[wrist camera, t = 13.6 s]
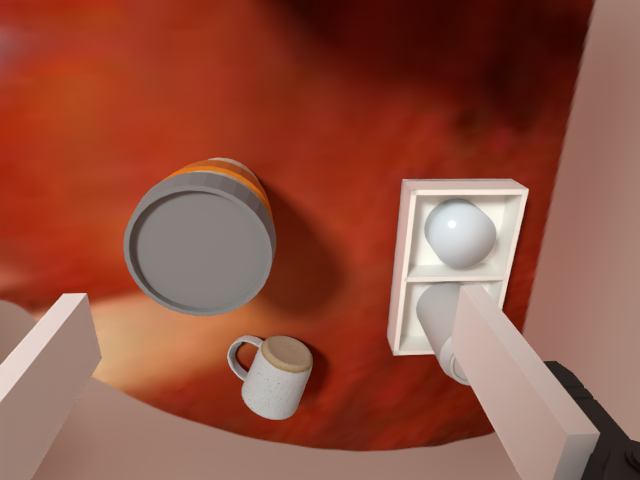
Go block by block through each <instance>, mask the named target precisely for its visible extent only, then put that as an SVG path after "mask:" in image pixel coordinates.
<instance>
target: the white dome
mask: <svg viewBox="0 0 640 480" xmlns="http://www.w3.org/2000/svg"><path fill="white" fill-rule="evenodd" d="M424 234H425V238H426V240H427V242H428V243H429V245H430V246H431V248H432V249H433V250H434V252H435V253H436V255H437V256H438V257H439V259H440V260H441V261H442V262H443V263H445V264H446V265H449V266H451V267H456V268H465V267H469V266H472V265H475V264H477V263H479V262H480V261H482V260H483V259H484V258H485V257H486V256H487V255H488V254H489V253H490V252H491V250H492V248H493V246H494V244H495V241H496V228H495V225H494V223H493V221H492V220H491V219H490V218H489V217H488V216H487V215H486V214H485V213H484V212H482V211H481V210H480V209H479V208H478V207H477V206H476V205H474V204H473V203H472V202H470V201H468V200H465V199H458V198H457V199H449V200H446V201H444V202H442V203H440V204H438V205H437V206H436V207H435V208H434V209H433V210H432V211H431V212H430V213H429V215H428V217H427V219H426V221H425V225H424Z"/></svg>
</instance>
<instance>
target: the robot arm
mask: <svg viewBox="0 0 640 480" xmlns="http://www.w3.org/2000/svg"><path fill="white" fill-rule="evenodd" d="M450 348H451V350H452V351H453V353H454V355H455V357H456V359H457V361H458V363H459V364H460V366H461V368H462V370H463V372H464V374H465V376H466V377H467V379H468V381H469V383H470V385H471V387H472V389H473V390H474V392H475V394H476V396H477V398H478V400H479V402H480V403H481V405H482V407H483V409H484V411H485V413H486V415H487V416H488V418H489V420H490V422H491V424H492V426H493V428H494V429H495V431H496V433H497V435H498V437H499V439H500V440H501V442H502V444H503V446H504V448H505V450H506V452H507V454H508V455H509V457H510V459H511V461H512V463H513V464H514V467H515V468H516V470H517V472H518V474H519V476H520V478H521V479H522V480H640V442H637V441H634V440H630V439H629V437H628V436H627V435H626V434H625V433H624V431H623V430H622V429H621V428H620V427H619V426H618V425H617V423H616V422H615V421H614V420H613V419H612V418H611V416H610V415H609V414H608V413H607V412H606V411H605V410H604V408H603V407H602V406H601V405H600V404H599V403H598V402H597V400H594V399H593V396H592V395H591V393H590V392H589V391H588V390H587V389H585V388H584V386H583V384H582V383H581V382H580V381H579V380H578V379H577V377H576V376H575V375H574V374H573V373H572V372H571V371H569V370H568V369H567V368H565V367H564V366H562V365H561V364H559V363H558V362H556V361H544V362H543V361H542V360H541V359H540V358H539V356H538V355H537V354H536V353H535V352H534V350H533V349H532V348H531V346H530V345H529V344H528V343H527V341H526V340H525V339H524V338H523V336H522V335H521V334H520V333H519V331H518V330H517V329H516V328H515V326H514V325H513V324H512V323H511V322H510V320H509V319H508V318H507V317H506V315H505V314H504V313H503V312H502V310H501V309H500V308H499V307H498V305H497V304H496V303H495V302H494V300H493V299H492V298H491V297H490V295H489V294H488V293H487V292H486V290H485V289H484V288H483V287H482V285H465V286H461V288H460V293H459V299H458V305H457V311H456V316H455V322H454V328H453V333H452V339H451V345H450ZM101 358H102V357H101V352H100V348H99V344H98V339H97V335H96V331H95V327H94V322H93V318H92V314H91V310H90V305H89V301H88V297H87V293H78V294H63V295H62V296H61V297H60V298H59V299H58V300H57V302H56V303H55V304H54V305H53V306H52V307H51V308H50V310H49V311H48V312H47V313H46V314H45V315H44V316H43V317H42V319H41V320H40V321H39V322H38V323H37V324H36V325H35V327H34V328H33V329H32V330H31V331H30V332H29V333H28V335H27V336H26V337H25V338H24V339H23V340H22V341H21V343H20V344H19V345H18V346H17V347H16V348H15V349H14V350H13V351H12V353H11V354H10V355H9V356H8V357H7V358H6V359H5V361H4V362H3V363H2V364H1V365H0V480H31V479H32V477H33V475H34V474H35V472H36V470H37V468H38V467H39V465H40V463H41V462H42V460H43V458H44V456H45V455H46V453H47V451H48V449H49V448H50V446H51V444H52V443H53V441H54V439H55V437H56V436H57V434H58V432H59V431H60V429H61V427H62V425H63V424H64V422H65V420H66V418H67V417H68V415H69V413H70V412H71V410H72V408H73V407H74V405H75V403H76V401H77V400H78V398H79V396H80V394H81V393H82V391H83V389H84V388H85V386H86V384H87V382H88V380H89V379H90V377H91V376H92V374H93V372H94V370H95V369H96V367H97V365H98V364H99V362H100V360H101Z"/></svg>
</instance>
